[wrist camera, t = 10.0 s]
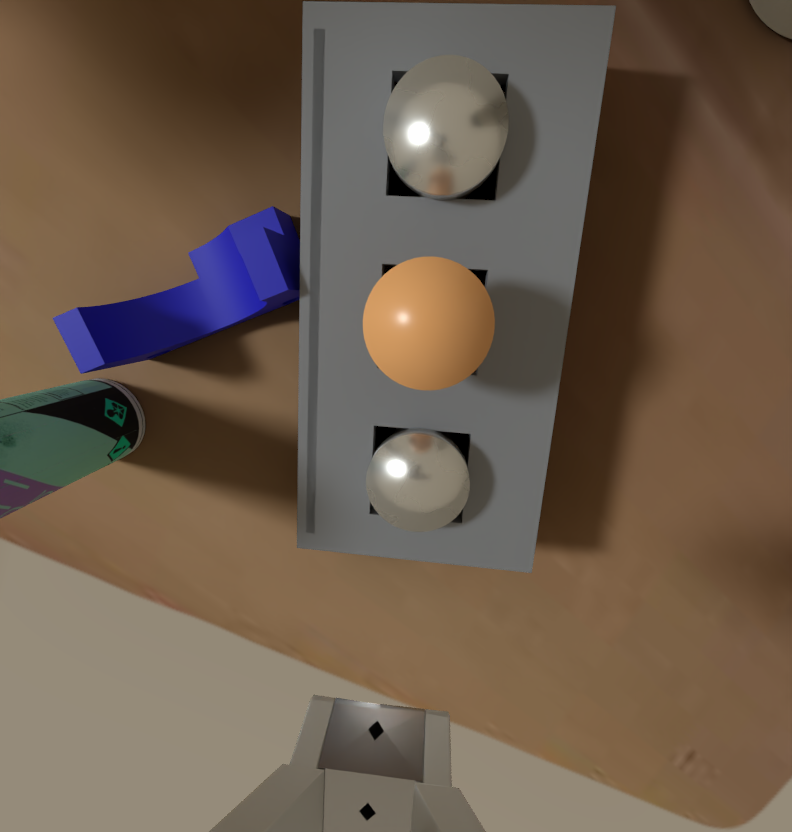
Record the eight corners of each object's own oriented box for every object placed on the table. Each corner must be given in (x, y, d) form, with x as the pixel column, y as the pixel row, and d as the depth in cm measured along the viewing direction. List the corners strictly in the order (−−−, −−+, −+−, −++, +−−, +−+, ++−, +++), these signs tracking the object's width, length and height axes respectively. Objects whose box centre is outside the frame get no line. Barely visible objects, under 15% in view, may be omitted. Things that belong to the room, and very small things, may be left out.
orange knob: (378, 365, 25) (360, 385, 19) (384, 263, 24) (365, 252, 18) (476, 373, 25) (487, 395, 19) (487, 269, 24) (502, 260, 18)
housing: (319, 509, 31) (297, 547, 27) (329, 58, 25) (302, 1, 20) (517, 529, 30) (531, 572, 26) (581, 64, 24) (616, 5, 19)
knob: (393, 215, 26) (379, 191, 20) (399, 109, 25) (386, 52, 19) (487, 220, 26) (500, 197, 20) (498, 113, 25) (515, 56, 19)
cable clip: (290, 216, 27) (249, 193, 21) (320, 291, 28) (288, 289, 22) (118, 291, 29) (38, 289, 24) (150, 359, 30) (80, 373, 24)
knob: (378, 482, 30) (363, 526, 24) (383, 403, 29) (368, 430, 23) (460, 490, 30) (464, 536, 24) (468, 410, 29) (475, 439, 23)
